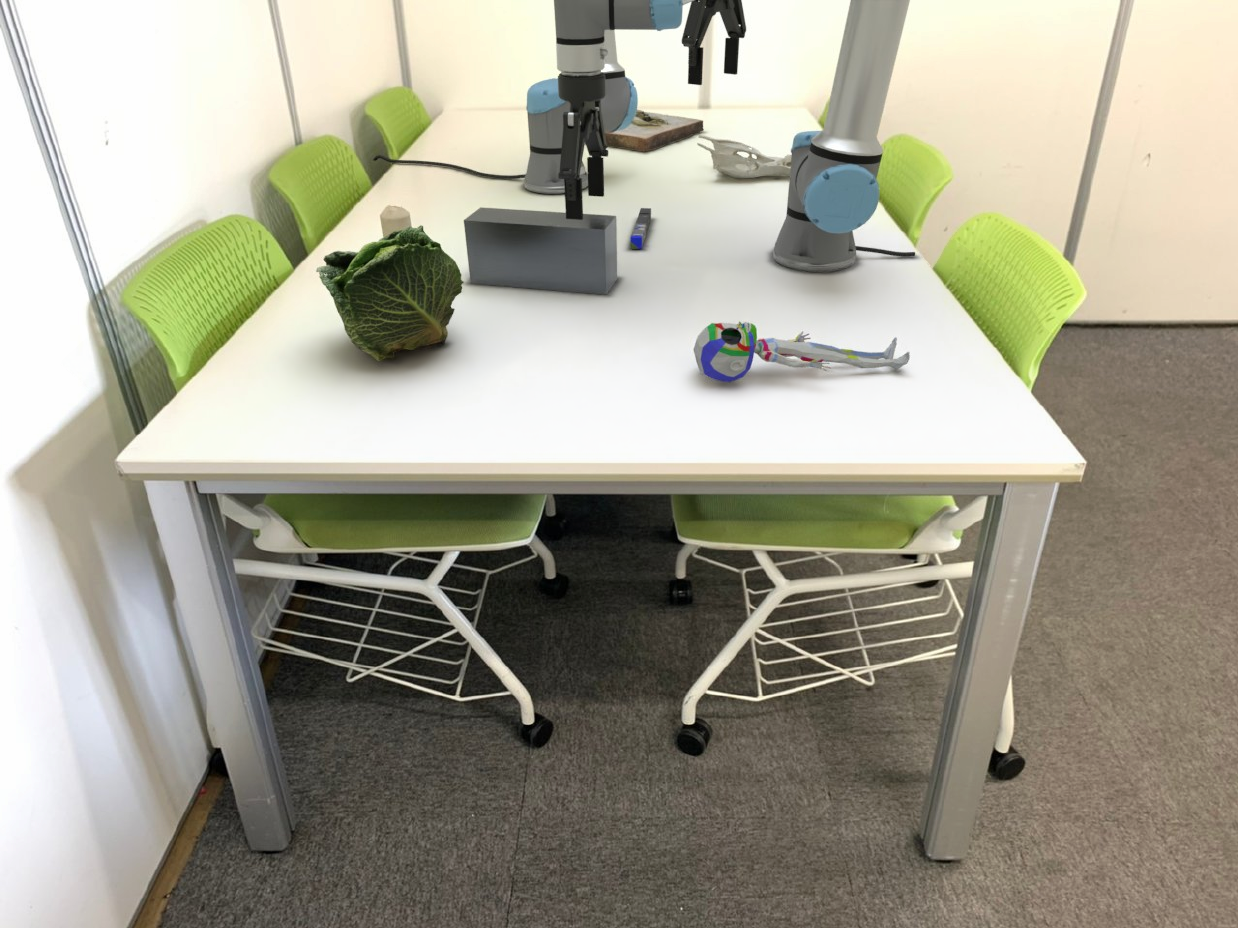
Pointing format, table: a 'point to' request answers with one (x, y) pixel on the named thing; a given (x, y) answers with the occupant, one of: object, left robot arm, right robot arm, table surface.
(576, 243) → the box
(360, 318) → the vegetable
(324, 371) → the table surface
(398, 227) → the candle
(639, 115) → the plaque
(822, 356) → the toy
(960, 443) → the table surface
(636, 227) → the pillar
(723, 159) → the anatomical model
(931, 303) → the table surface
